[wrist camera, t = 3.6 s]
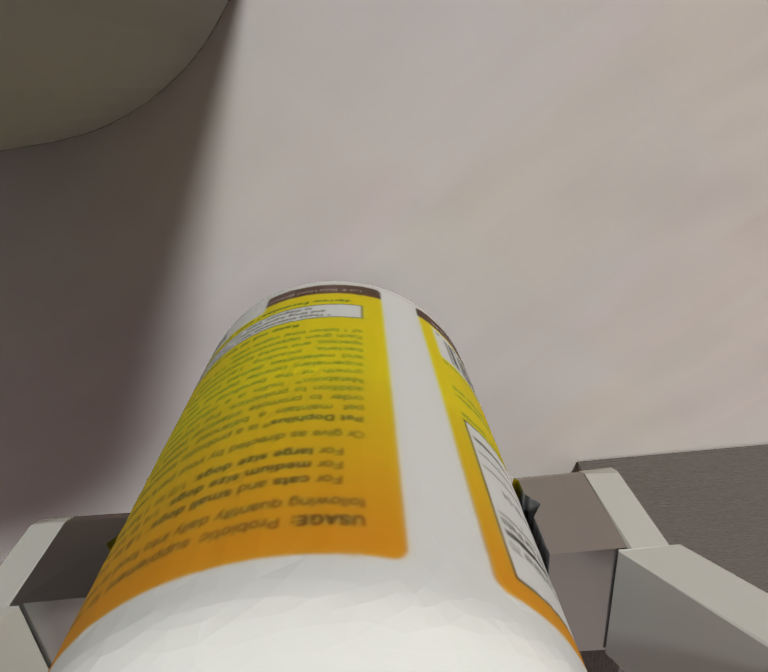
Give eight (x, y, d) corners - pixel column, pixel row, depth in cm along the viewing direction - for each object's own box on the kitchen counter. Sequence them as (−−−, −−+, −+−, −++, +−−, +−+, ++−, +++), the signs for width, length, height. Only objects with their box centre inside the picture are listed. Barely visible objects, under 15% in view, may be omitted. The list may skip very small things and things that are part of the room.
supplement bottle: (170, 429, 13) (-362, 1410, 3) (287, 219, 11) (-144, 1059, 1) (380, 525, 14) (430, 1402, 5) (514, 352, 12) (1037, 1213, 3)
